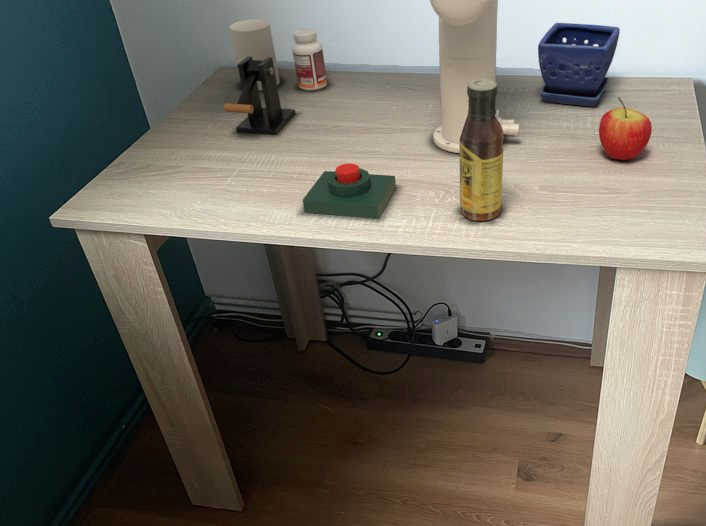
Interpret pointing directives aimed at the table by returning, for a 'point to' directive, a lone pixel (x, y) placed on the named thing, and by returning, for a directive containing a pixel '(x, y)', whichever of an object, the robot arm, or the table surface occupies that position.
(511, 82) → the table surface
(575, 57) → the flower pot
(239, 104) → the lever
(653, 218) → the table surface
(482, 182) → the sauce bottle
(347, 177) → the button
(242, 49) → the cup
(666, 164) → the table surface
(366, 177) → the control block
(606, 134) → the apple
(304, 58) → the pill bottle
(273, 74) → the bracket
